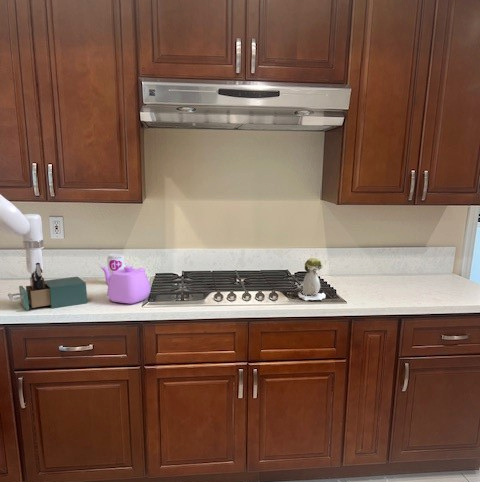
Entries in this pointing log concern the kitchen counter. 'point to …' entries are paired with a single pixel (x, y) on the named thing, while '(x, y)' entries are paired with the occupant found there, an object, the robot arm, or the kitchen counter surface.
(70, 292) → the cabinet
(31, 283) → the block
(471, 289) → the kitchen counter surface
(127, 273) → the teapot
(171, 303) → the kitchen counter surface
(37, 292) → the drawer
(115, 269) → the supplement can
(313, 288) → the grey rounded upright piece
